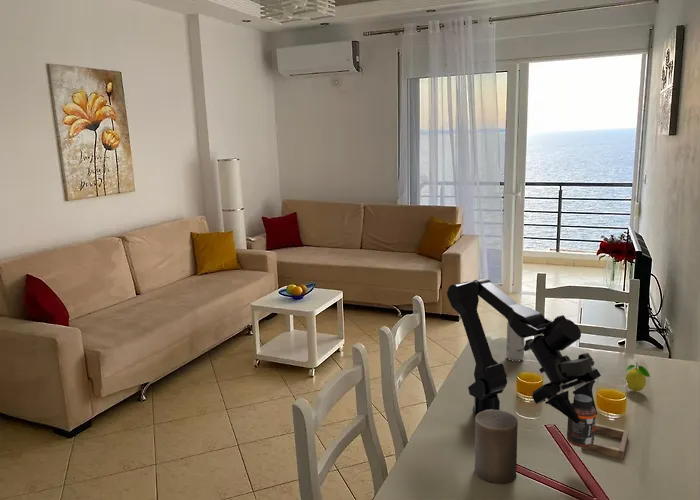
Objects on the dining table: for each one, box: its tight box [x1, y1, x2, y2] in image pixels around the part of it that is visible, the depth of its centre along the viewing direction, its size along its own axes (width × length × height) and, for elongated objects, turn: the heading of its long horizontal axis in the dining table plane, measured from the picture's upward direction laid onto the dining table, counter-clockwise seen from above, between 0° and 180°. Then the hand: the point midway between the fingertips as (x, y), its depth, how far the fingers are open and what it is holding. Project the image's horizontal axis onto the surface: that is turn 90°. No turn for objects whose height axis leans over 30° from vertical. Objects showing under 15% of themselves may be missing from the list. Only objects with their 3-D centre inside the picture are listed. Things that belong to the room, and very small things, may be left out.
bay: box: [580, 423, 629, 460], centre depth 139 cm, size 10×11×2 cm
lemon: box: [625, 363, 651, 393], centre depth 165 cm, size 7×6×10 cm
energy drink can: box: [505, 321, 525, 362], centre depth 192 cm, size 6×6×15 cm
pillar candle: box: [474, 409, 518, 485], centre depth 127 cm, size 10×10×15 cm
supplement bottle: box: [566, 394, 597, 448], centre depth 127 cm, size 6×6×11 cm
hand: (587, 418), depth 126 cm, fingers closed on supplement bottle, 6 cm apart
